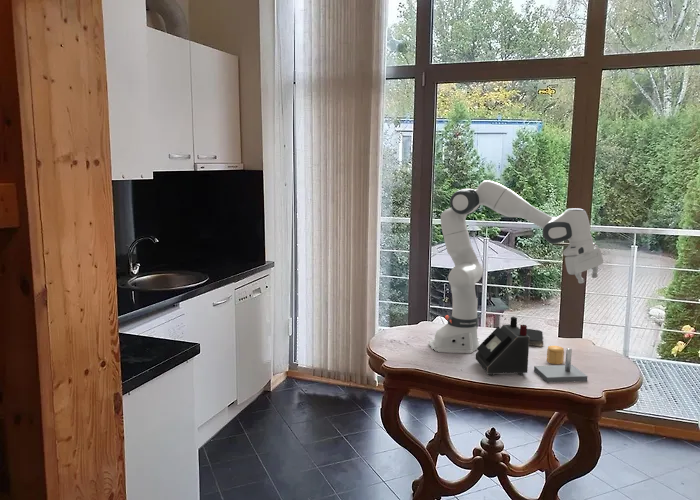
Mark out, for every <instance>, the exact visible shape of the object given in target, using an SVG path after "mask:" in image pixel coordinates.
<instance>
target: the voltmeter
mask: <svg viewBox="0 0 700 500" xmlns="http://www.w3.org/2000/svg"><path fill="white" fill-rule="evenodd" d="M509 323H510V324H502V326H501V327H499V326H497V327H496V328H495V329H494V330H493V331H492V332H491V333H490V334H489V335H488V336H487V337H486V338H485V339H484V340H483V341H482V342H481V343H480V344H479V347H478V348H477V350H476V353H475V361H476V362H477V363H478V364H479V366H480V367H481V368H482V369H483V370H484V372H485V373H486V374H487V376H489V377H493V376H494V375H495V374H498V375H499V374H517V376H523V374H528V370H529V368H528V366H529V353H530V352H529V351H530V350H529V349H530V345H529V336H528V335H527V329H528V328H527V327H528V326H527V324H520V327H519V326H518V324H517V323H518V318H517V317H515V316H511V317H510V322H509Z"/></svg>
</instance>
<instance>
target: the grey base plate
mask: <svg viewBox="0 0 700 500" xmlns="http://www.w3.org/2000/svg"><path fill="white" fill-rule="evenodd" d="M533 371H534V372H535V374H537V375H538V377H541V378H542V379H543V380H544V381H545V382H546V383H569V382H570V383H572V382H574V381H575V382H587V381H588V375H587V374H585V373H584V372H583V371H581V370H580V369H579V368H577V367H576V366H575V365H573V364H571V368H570V372H567V371H565V364H552V365H551V364H550V365H534V368H533Z"/></svg>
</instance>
